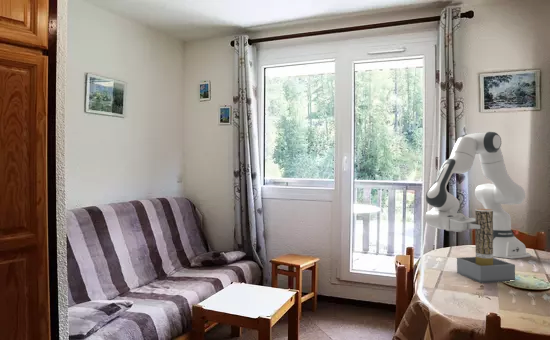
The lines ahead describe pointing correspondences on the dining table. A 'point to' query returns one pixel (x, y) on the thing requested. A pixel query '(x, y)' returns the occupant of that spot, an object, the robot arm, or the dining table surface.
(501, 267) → the box
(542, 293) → the dining table surface
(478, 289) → the dining table surface
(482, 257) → the wooden log
